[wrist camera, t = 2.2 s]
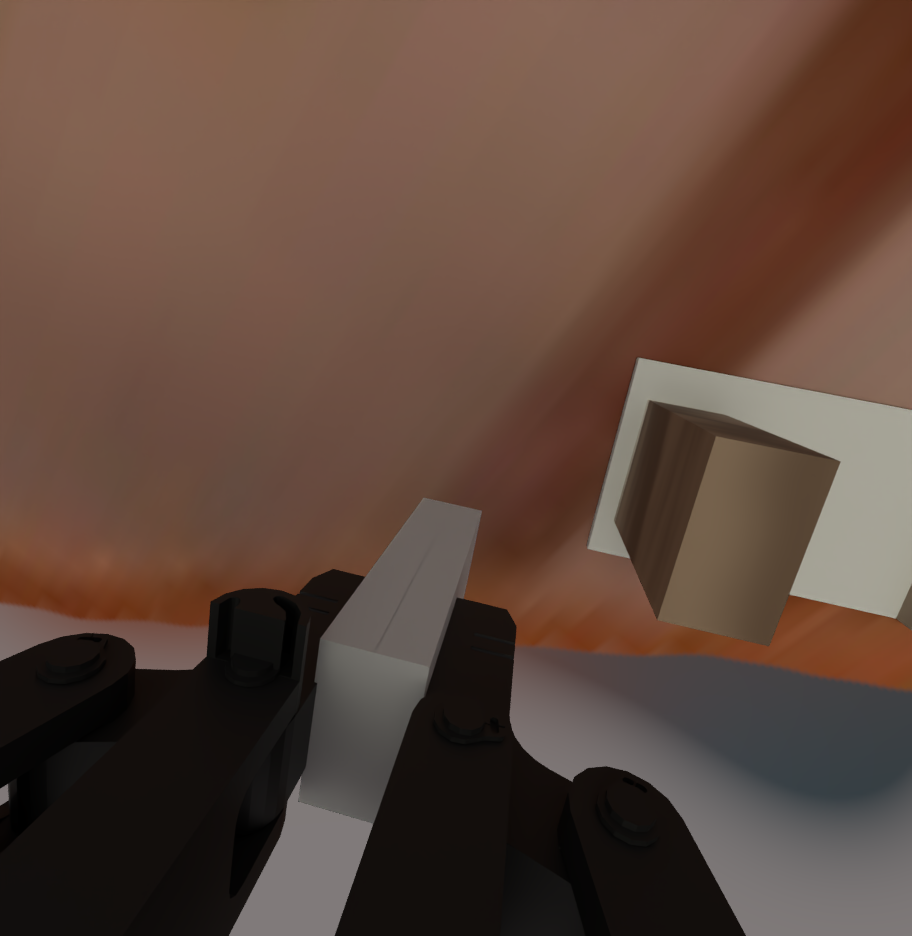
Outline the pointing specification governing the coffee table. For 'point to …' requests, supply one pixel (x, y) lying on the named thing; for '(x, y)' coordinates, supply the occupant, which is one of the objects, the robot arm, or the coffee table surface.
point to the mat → (851, 494)
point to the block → (719, 518)
